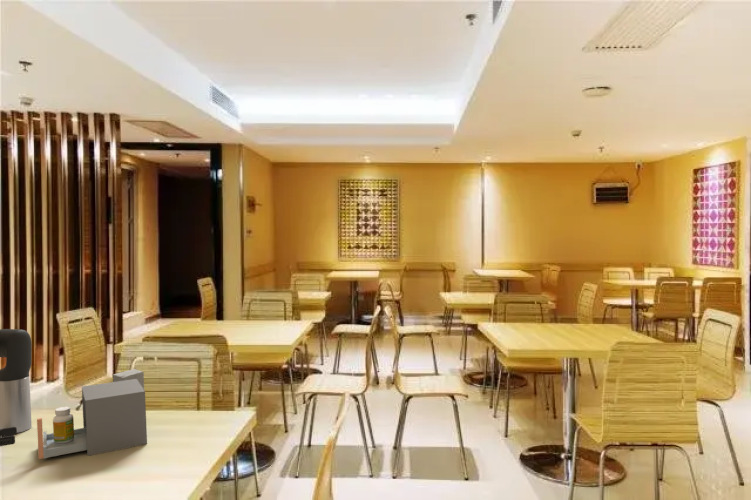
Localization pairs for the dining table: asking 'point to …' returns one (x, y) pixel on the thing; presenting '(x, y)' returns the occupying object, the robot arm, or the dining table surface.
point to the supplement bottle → (63, 425)
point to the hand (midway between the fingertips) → (15, 434)
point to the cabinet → (114, 416)
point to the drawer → (53, 449)
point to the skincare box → (130, 376)
